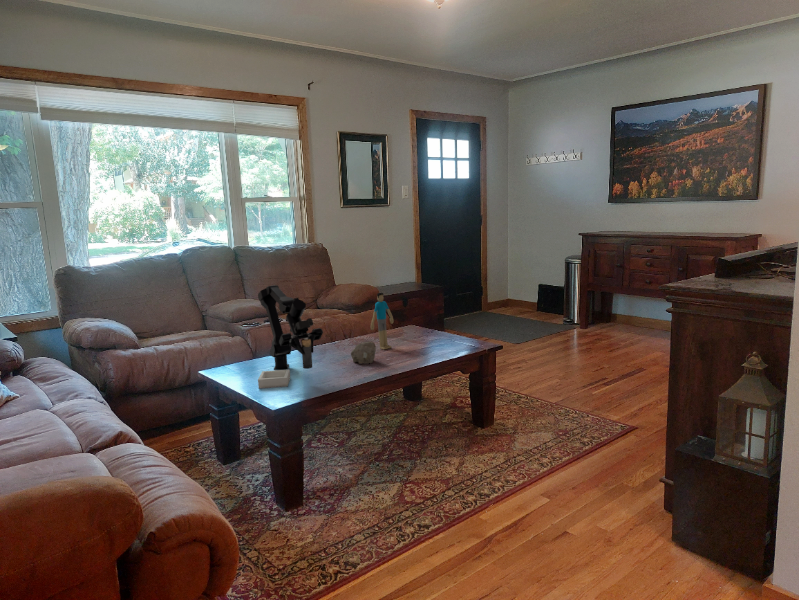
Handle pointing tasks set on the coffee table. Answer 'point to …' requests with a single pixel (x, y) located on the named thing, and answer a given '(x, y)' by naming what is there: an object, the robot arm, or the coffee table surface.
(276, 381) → the bin
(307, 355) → the cell
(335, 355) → the coffee table surface
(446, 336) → the coffee table surface
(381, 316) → the figurine
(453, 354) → the coffee table surface
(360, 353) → the rock
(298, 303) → the robot arm
